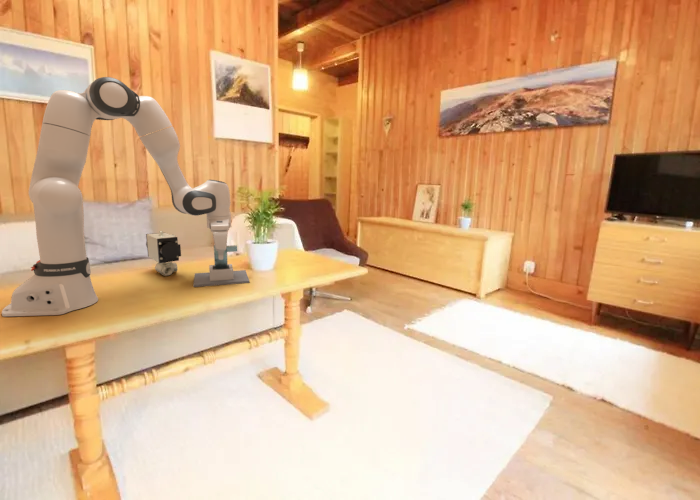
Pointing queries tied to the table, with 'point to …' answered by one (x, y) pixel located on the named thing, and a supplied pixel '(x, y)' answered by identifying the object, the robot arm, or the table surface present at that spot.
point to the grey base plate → (220, 277)
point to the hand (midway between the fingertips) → (220, 257)
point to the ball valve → (163, 251)
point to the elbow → (223, 263)
